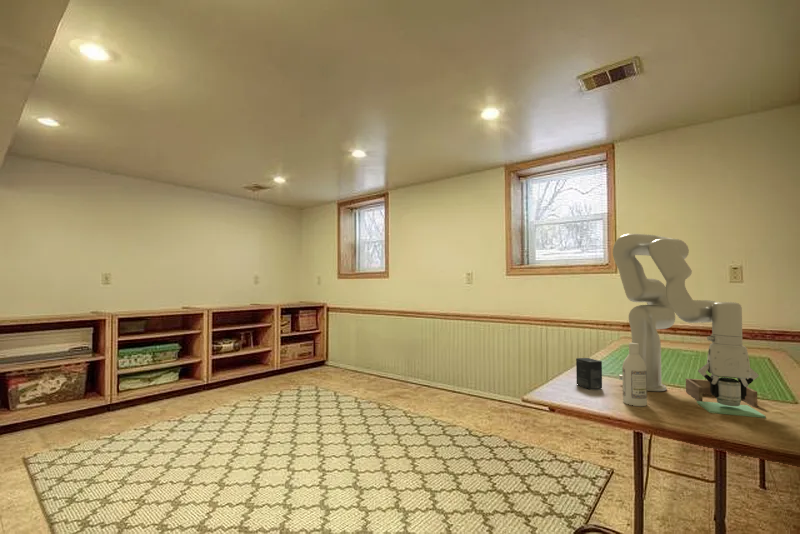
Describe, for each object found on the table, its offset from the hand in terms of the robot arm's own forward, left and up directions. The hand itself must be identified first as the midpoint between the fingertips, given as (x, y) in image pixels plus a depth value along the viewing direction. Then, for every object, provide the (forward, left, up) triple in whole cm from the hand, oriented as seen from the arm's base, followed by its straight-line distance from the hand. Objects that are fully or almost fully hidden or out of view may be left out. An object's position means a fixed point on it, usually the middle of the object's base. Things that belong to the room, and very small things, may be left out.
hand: (728, 396), depth 128 cm
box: (-39, +15, -4) cm, 42 cm away
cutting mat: (0, 0, -4) cm, 4 cm away
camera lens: (0, 0, -2) cm, 2 cm away
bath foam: (-27, -3, -4) cm, 27 cm away
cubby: (+2, +13, -4) cm, 14 cm away
